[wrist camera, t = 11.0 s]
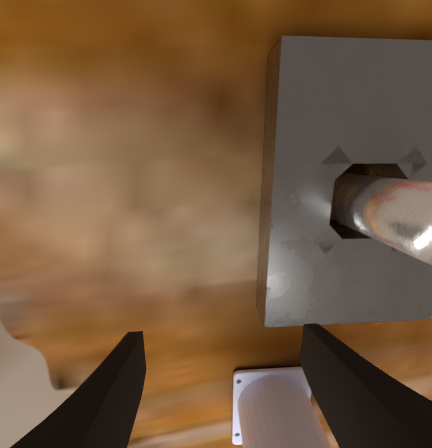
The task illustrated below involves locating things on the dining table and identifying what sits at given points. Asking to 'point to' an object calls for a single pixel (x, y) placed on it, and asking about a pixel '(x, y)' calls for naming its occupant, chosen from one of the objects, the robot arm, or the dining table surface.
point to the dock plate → (331, 169)
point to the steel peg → (387, 211)
